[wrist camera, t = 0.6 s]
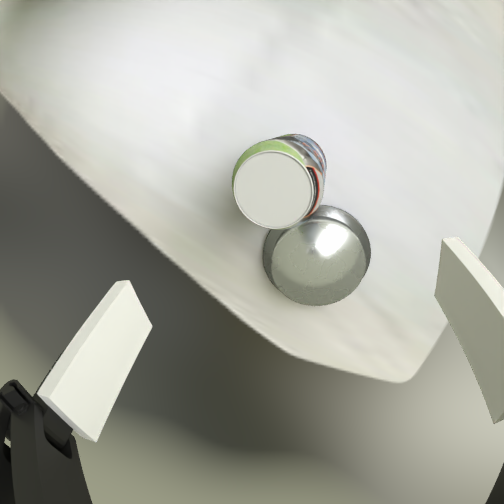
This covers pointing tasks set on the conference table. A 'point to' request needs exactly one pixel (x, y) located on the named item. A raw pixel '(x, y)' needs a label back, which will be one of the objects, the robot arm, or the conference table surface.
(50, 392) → the robot arm
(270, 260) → the bowl
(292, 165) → the beverage can
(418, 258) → the conference table surface
